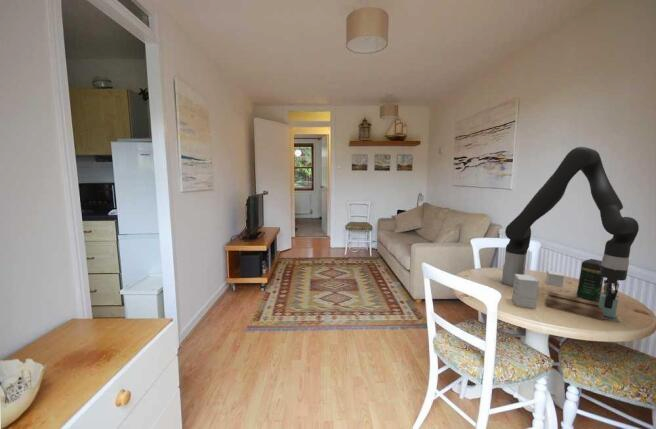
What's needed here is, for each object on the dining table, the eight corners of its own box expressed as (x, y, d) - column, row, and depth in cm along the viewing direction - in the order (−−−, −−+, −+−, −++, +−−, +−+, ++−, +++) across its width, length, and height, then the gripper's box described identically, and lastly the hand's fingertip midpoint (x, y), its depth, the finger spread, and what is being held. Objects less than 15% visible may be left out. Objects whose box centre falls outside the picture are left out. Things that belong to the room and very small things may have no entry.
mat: (603, 318, 114) (603, 318, 114) (602, 313, 119) (602, 312, 119) (619, 322, 111) (619, 321, 111) (617, 316, 116) (617, 316, 116)
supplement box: (529, 301, 128) (533, 275, 127) (535, 309, 122) (539, 281, 120) (511, 299, 131) (514, 273, 129) (516, 306, 124) (519, 278, 122)
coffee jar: (596, 303, 127) (603, 264, 124) (574, 297, 133) (579, 259, 131) (602, 298, 133) (608, 260, 130) (580, 292, 139) (585, 256, 136)
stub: (597, 314, 117) (601, 293, 115) (597, 312, 118) (600, 292, 117) (615, 318, 113) (618, 297, 112) (614, 316, 115) (617, 295, 113)
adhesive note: (562, 286, 146) (563, 275, 145) (548, 284, 149) (549, 273, 148) (559, 283, 152) (561, 272, 151) (545, 280, 154) (547, 270, 153)
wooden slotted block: (545, 306, 124) (546, 298, 123) (547, 298, 132) (547, 291, 131) (602, 320, 113) (603, 311, 112) (599, 310, 121) (601, 302, 120)
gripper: (599, 260, 120) (593, 298, 123) (603, 268, 110) (596, 310, 112) (624, 264, 115) (618, 303, 118) (631, 273, 105) (623, 316, 107)
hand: (607, 306), depth 115 cm, fingers closed on stub
